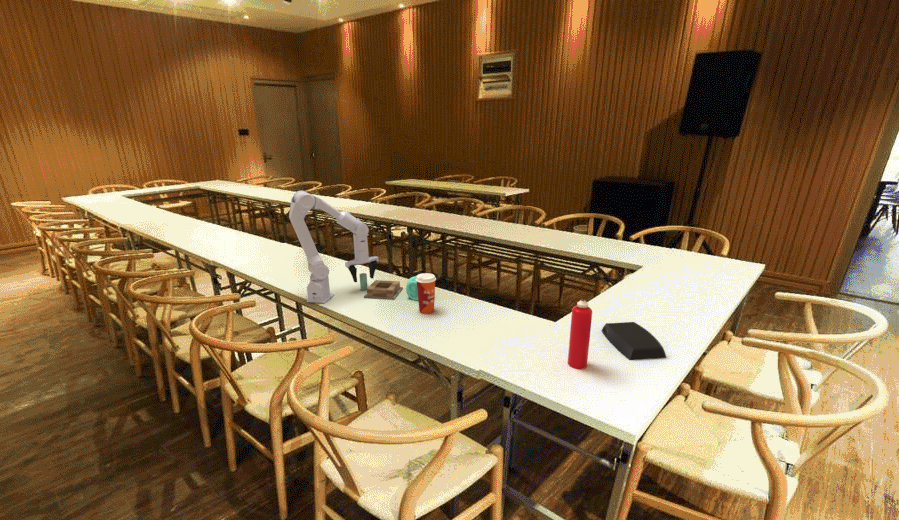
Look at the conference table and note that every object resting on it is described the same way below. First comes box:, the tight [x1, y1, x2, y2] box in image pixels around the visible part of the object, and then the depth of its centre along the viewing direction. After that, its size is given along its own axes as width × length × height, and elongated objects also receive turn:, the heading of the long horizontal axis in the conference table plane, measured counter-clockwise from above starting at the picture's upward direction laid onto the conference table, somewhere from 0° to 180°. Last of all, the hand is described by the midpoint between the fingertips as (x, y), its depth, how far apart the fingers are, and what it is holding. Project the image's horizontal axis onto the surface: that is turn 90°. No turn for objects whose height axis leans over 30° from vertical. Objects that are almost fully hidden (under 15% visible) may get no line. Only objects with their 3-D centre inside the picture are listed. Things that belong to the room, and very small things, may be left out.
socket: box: [363, 279, 404, 301], centre depth 177 cm, size 13×13×4 cm
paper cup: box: [416, 272, 437, 314], centre depth 158 cm, size 8×8×14 cm
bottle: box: [567, 299, 593, 370], centre depth 119 cm, size 5×5×20 cm
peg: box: [359, 272, 369, 292], centre depth 181 cm, size 3×3×7 cm
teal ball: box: [405, 275, 418, 302], centre depth 172 cm, size 8×8×8 cm
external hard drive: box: [601, 321, 667, 361], centre depth 133 cm, size 13×19×4 cm
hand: (363, 279), depth 181 cm, fingers open, 7 cm apart
